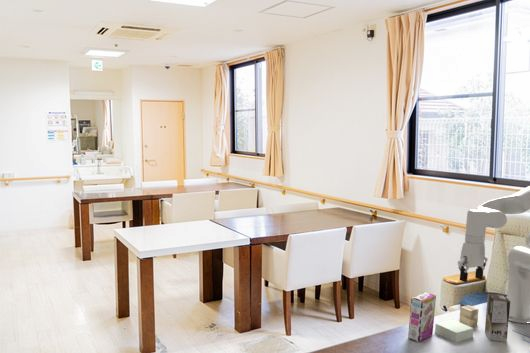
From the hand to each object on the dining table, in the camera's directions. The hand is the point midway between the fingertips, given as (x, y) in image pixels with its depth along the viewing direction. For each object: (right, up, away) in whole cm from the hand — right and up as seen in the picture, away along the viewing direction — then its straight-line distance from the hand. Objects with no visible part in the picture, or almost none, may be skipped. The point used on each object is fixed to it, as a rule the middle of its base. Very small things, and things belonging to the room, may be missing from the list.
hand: (471, 279), depth 206 cm
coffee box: (+5, -21, -10) cm, 24 cm away
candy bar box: (-25, -20, -13) cm, 35 cm away
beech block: (0, -19, +2) cm, 19 cm away
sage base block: (-11, -20, -10) cm, 25 cm away
